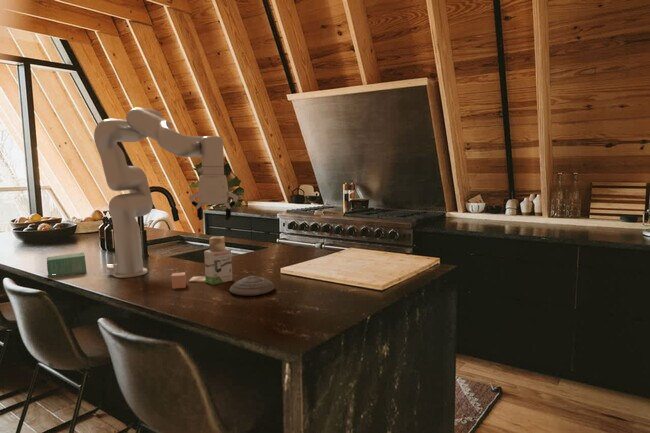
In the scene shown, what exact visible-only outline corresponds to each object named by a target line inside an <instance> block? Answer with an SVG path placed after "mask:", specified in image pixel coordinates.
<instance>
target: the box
mask: <svg viewBox="0 0 650 433" xmlns="http://www.w3.org/2000/svg"><path fill="white" fill-rule="evenodd" d="M46 268H47V269H46V270H47V275H48V278H50V279H52V278H58V277H60V278H61V277H67V276H74V275H80V274H82V275H83V274H85V273H86V274H87V264H86V256H85V253H84V252H79V253H78V252H77V253H70V254H69V253H68V254H61V255H59V254H58V255H53V256H47V257H46ZM52 274H56V275H52Z"/></svg>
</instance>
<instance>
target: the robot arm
mask: <svg viewBox="0 0 650 433" xmlns="http://www.w3.org/2000/svg"><path fill="white" fill-rule="evenodd" d="M147 138H150V139H152V140H155V141H156V143H157V144H158V146H159V147H160V148H161V149H163V150H165V151H167V152H169V153H171V154H172V155H175V156H178V157H180V158H201V167H199V168H197V172H198V173H201V175H199V178H198V186H197V188H198V189H197V192H195V193H193V194H191V195H189V196H188V199H189V201H190V202H191V204H192V206H193V207H194V208H195V209H196V214H197V215H196V218H198V221H201V220H203V219H204V209H203V206H204V205H224V206H225V207H226V209H225V220H226V221H229V220H230V219H231V217H232V208H233V207H234V206H235V205H236V204H237V201H238V200H239V196H238V195H237V194H235V193H232V192H231V191H229V185H228V180H227V175H225V168H224V167H225V166H224V139H223V138H222V136H218V135H205V136H202V135H189V134H181V133H179V132H178V131H175V130H173V126H172V123H171V122H170V121H169V120H168V119H165V118H164V116H163V114H162V113H161V112H160V111H159V110H157V109H152V108H145V107H134V108H132V109H130V110H128V112H127V114H126V115H125V119H120V118H119V119H118V118H106V119H103V120H101V121H99V122H98V124H97V125H96V126H95V128H94V133H93V139H94V144H95V147H96V149H97V151H98V154H99V157H100V160H101V165H102V168H103V169H102V170H103V173H104V178H105V180H106V184H107V186H108V188H109V189H110V190H111V191H115V192H124V191H129V193H121V194H117V195H115V196H113V197H112V198H111V199H110V200H109V203H108V211H109V214H110V217H111V222H112V228H113V239H114V250H115V251H114V252H115V262H116V263H115V264H109V263H108V264H107V265H106V269H107V271H111V270H112V271H114V272H112V276H113V277H114V278H119V279H122V278H125V279H126V278H134V277H139V276H143V275H147V274H148V268H147V267H144V262H143V250H142V248H143V247H142V238H141V236H142V235H141V228H140V225H139V223H138V220H137V219H136V218H137V217H143V216H146V215H147V216H148V215H149V214H150V213H151V212H152V211H153V207H154V206H153V205H154V202H153V198H152V197H153V196H152V193H151V189H150V185H149V181H148V180H149V179H148V177H147V174H146V173H145V170H143V169H142V168H141V167H139V166H136V165H128V164H127V160H126V155H125V153H124V152H123V150H122V148H121V147H120V146H119V145H118V142H119V143H136V142H140V141H141V140H144V139H147ZM196 197H197V201H196V199H195V198H196ZM229 197H230V198H232V201H231V203H230V202H229Z"/></svg>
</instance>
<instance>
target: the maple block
mask: <svg viewBox="0 0 650 433" xmlns="http://www.w3.org/2000/svg"><path fill="white" fill-rule="evenodd" d="M225 240H226V239H225V236H224V235H223V236H222V235H220V236H218V235H217V236H211V237H210V238H208V241H209V242H208V244H209V250H210V251H223V250H224V249H225V248H226V241H225Z"/></svg>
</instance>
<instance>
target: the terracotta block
mask: <svg viewBox="0 0 650 433" xmlns="http://www.w3.org/2000/svg"><path fill="white" fill-rule="evenodd" d="M170 277H171V287H172V288H171V289H184V288H186V287H187V280H186V279H187V277H186V272H185V271H181V272H172V273H171V276H170Z"/></svg>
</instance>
